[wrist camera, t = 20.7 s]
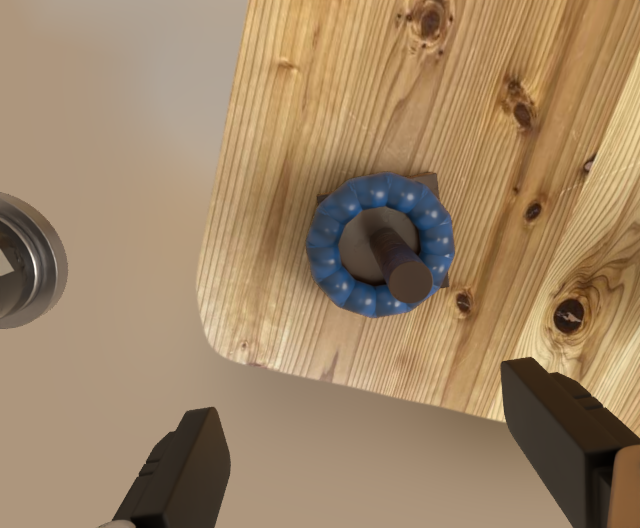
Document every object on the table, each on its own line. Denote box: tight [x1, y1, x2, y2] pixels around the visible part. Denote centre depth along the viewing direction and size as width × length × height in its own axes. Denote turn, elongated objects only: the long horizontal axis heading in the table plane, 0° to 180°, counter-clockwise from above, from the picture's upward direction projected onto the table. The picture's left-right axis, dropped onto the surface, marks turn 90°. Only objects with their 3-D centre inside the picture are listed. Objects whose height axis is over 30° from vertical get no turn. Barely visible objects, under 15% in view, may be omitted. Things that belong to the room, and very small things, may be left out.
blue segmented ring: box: [305, 172, 455, 318], centre depth 31 cm, size 11×11×2 cm
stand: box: [317, 172, 449, 304], centre depth 28 cm, size 9×9×12 cm
